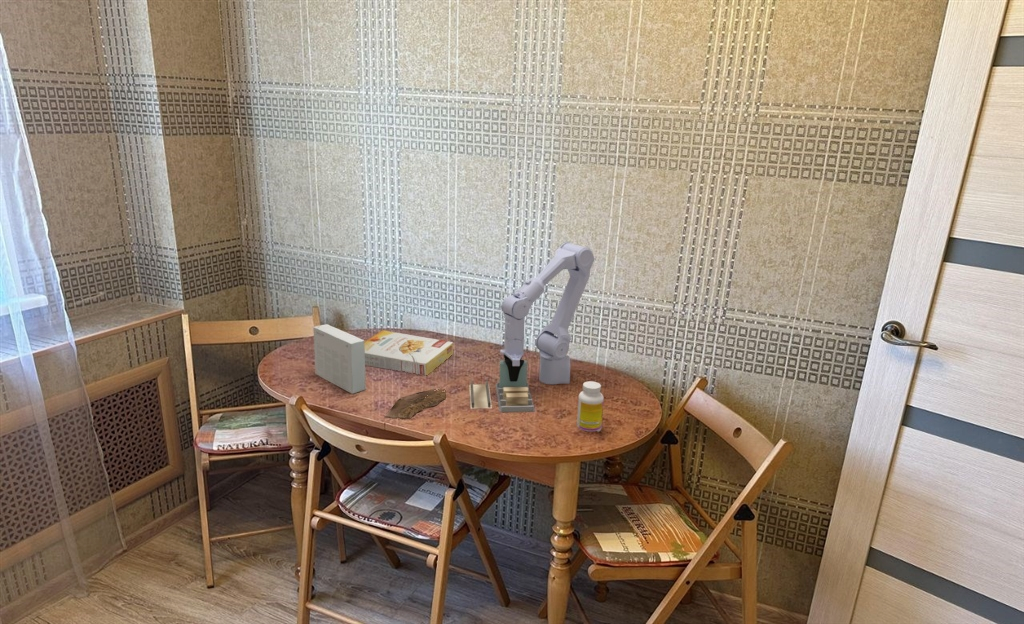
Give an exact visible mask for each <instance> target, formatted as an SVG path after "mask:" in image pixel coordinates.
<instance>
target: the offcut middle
mask: <svg viewBox="0 0 1024 624" xmlns="http://www.w3.org/2000/svg"><path fill="white" fill-rule="evenodd" d="M506 393H527V394H528V387H503V400H506Z"/></svg>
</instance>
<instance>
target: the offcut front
mask: <svg viewBox="0 0 1024 624" xmlns="http://www.w3.org/2000/svg"><path fill="white" fill-rule="evenodd" d="M506 406H528V394H527V393H506Z"/></svg>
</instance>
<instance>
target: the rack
mask: <svg viewBox="0 0 1024 624" xmlns="http://www.w3.org/2000/svg"><path fill="white" fill-rule="evenodd" d="M499 384H500V381H497V383H495V391H496V396H497V404H498V412H499V413H527V412H528V413H531V412H532V413H536V409H535V405H534V402H533V399H532V394H531V390H530V387H529V383H528V382H527V387H528V406H506V400H503V388H499Z"/></svg>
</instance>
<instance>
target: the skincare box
mask: <svg viewBox="0 0 1024 624" xmlns="http://www.w3.org/2000/svg"><path fill="white" fill-rule="evenodd" d="M312 328H313V348H314V349H313V351H314V352H313V353H314V355H313V356H314V372H315V373H314V374H315V375H316V376H317V377H320V378H322V379H324V380H325V381H328V382H329V383H331V384H333V385H335V386H337V387H339V388H341V389H342V390H344V391H346V392H348V393H350V394H352V395H354V394H356V393H359V392H362V391H365V390H367V388H366V385H367V384H366V365H365V344H364V342H365V340H364V339H362V338H360V337H358V336H355V335H353V334H351V333H348V332H346V331H344V330H341V329H339V328H337V327H334V326H332V325H330V324H328V323H326V324H321V325H316V326H313V327H312Z"/></svg>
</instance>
